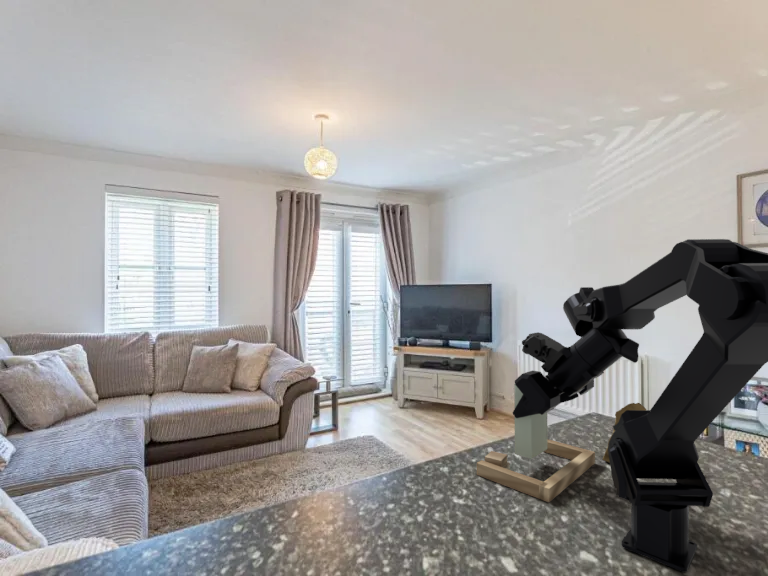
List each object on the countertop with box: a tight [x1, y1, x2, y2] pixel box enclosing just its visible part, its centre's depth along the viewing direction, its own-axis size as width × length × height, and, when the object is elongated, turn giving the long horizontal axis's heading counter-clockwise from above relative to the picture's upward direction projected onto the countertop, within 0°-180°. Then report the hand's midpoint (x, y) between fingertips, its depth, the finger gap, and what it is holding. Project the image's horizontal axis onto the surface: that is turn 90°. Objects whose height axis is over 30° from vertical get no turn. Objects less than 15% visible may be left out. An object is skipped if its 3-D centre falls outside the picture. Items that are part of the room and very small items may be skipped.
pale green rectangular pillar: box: [513, 383, 548, 460], centre depth 72 cm, size 6×3×12 cm, turn 134°
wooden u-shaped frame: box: [476, 438, 596, 503], centre depth 71 cm, size 18×12×2 cm, turn 134°
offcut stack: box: [484, 450, 511, 470], centre depth 71 cm, size 4×3×2 cm
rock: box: [602, 402, 647, 464], centre depth 76 cm, size 11×9×10 cm
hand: (523, 411), depth 73 cm, fingers closed on pale green rectangular pillar, 6 cm apart
